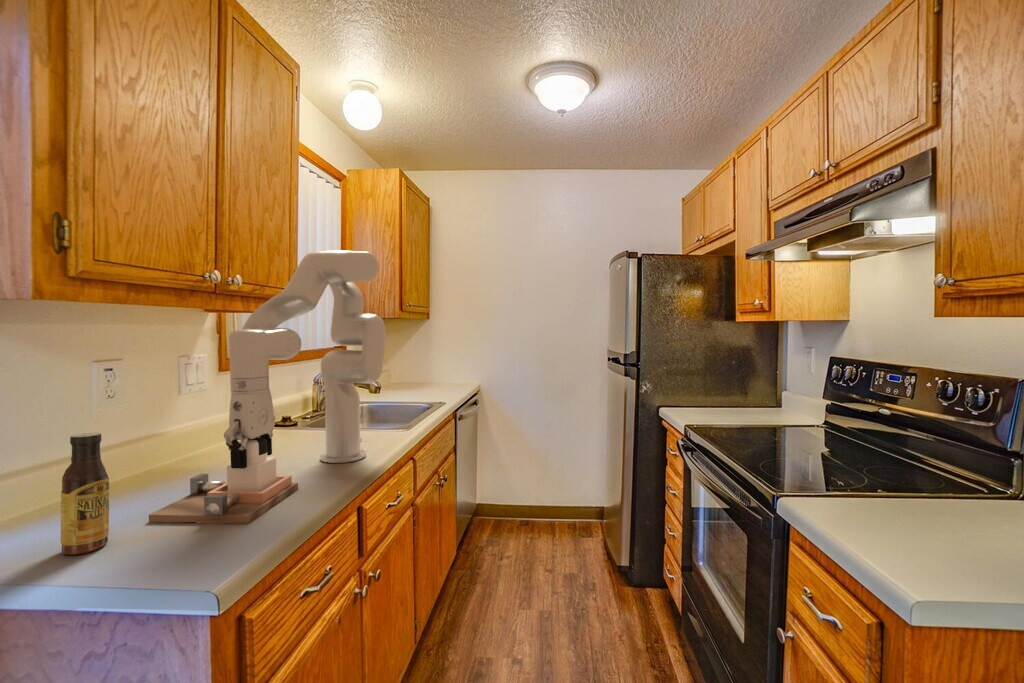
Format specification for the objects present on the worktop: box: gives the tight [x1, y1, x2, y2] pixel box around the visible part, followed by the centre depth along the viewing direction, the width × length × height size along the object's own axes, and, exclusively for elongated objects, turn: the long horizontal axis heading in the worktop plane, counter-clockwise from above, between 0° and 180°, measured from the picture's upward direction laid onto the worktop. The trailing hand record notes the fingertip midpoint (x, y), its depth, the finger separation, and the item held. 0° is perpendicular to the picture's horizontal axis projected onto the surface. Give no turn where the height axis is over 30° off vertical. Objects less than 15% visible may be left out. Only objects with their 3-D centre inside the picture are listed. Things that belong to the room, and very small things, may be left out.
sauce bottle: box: [60, 432, 110, 556], centre depth 82 cm, size 6×6×20 cm
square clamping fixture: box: [148, 473, 299, 525], centre depth 103 cm, size 20×20×5 cm
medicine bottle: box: [226, 437, 277, 492], centre depth 106 cm, size 7×7×12 cm
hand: (252, 461), depth 106 cm, fingers open, 9 cm apart
